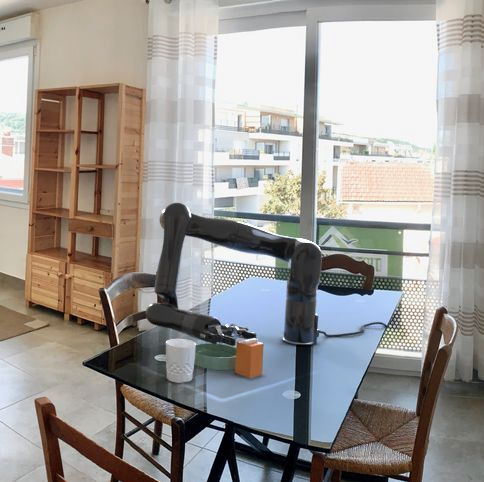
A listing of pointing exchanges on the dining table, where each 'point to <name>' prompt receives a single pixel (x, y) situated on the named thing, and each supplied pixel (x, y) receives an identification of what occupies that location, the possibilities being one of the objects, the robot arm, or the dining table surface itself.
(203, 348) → the bowl
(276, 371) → the dining table surface
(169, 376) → the white cup
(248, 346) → the carton
